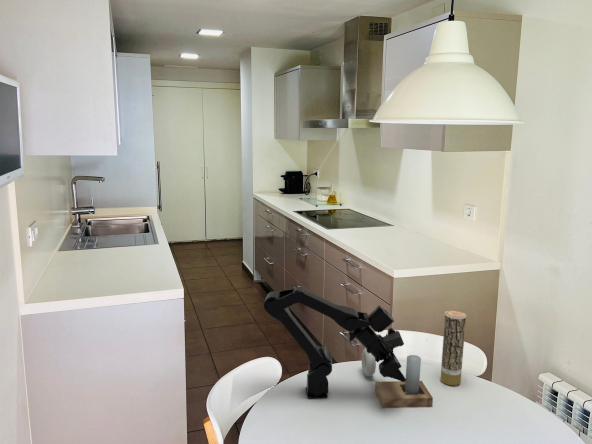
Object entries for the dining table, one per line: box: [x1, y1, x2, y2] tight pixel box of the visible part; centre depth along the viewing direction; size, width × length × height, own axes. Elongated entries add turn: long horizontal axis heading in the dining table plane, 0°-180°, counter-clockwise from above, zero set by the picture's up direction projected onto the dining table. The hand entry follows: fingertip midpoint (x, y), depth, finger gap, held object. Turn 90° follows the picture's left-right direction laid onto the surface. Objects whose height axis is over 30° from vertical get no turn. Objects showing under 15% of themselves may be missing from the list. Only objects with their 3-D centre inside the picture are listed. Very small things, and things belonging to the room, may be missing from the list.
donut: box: [361, 347, 377, 377], centre depth 176 cm, size 10×4×10 cm, turn 6°
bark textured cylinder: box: [440, 310, 467, 387], centre depth 171 cm, size 7×7×25 cm
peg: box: [404, 354, 422, 395], centre depth 161 cm, size 4×4×14 cm
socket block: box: [374, 380, 434, 409], centre depth 161 cm, size 16×11×3 cm
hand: (402, 374), depth 161 cm, fingers open, 9 cm apart
